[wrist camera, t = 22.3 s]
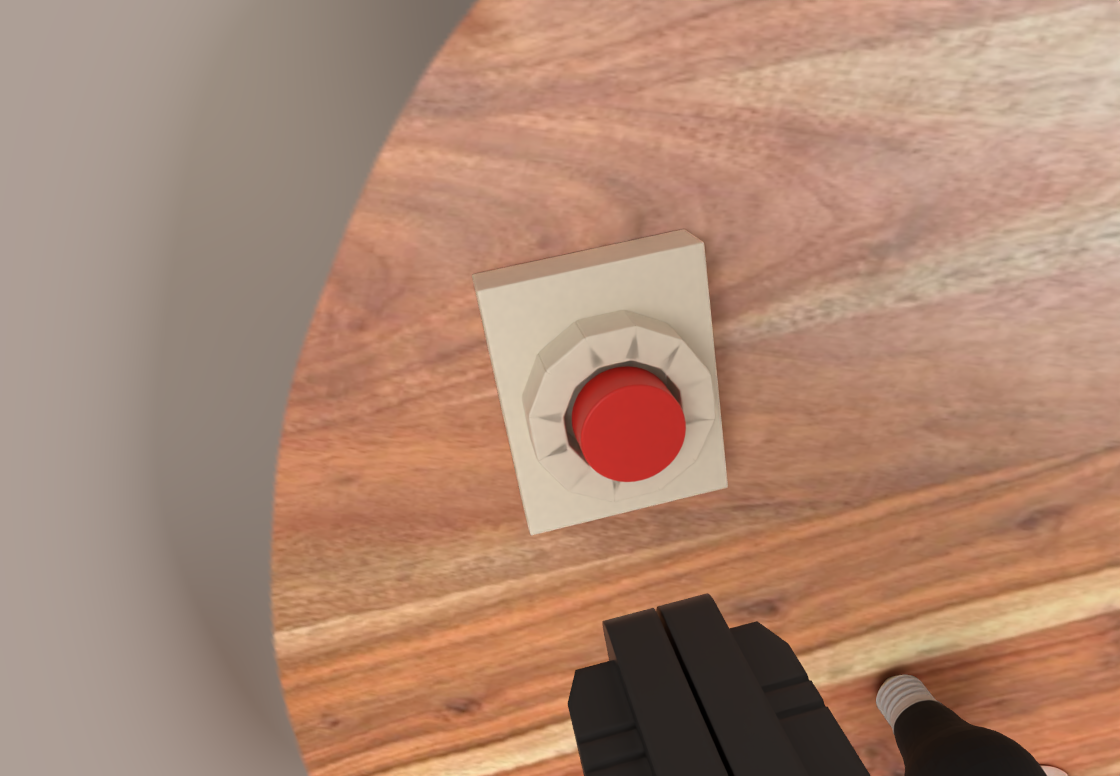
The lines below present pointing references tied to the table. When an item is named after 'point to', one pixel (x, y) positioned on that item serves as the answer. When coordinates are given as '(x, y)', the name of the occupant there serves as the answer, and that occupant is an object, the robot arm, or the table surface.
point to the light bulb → (946, 737)
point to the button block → (602, 368)
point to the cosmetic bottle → (1053, 771)
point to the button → (628, 424)
